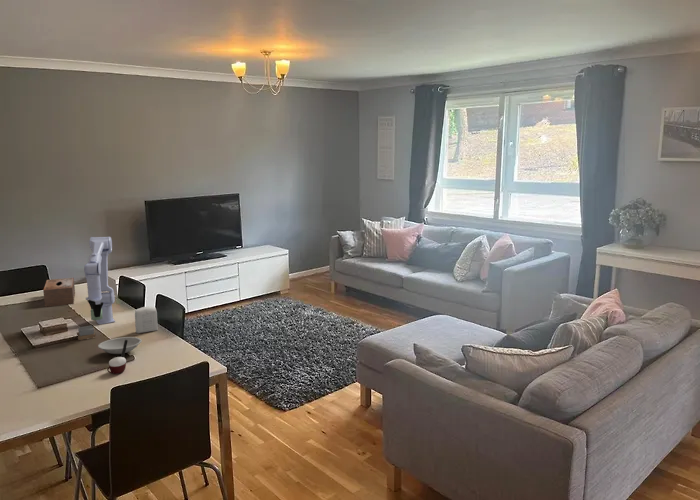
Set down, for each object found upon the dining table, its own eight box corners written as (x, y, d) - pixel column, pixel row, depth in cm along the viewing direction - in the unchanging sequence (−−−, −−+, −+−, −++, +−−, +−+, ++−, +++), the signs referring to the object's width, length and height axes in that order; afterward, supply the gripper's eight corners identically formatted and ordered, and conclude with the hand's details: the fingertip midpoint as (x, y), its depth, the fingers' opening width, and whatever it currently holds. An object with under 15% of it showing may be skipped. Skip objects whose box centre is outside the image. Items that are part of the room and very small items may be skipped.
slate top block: (78, 332, 255) (78, 327, 254) (92, 330, 258) (92, 325, 257) (80, 336, 250) (79, 331, 249) (94, 334, 253) (93, 329, 252)
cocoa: (108, 378, 210) (105, 349, 207) (105, 372, 215) (101, 344, 212) (133, 371, 216) (130, 343, 213) (129, 365, 221) (126, 338, 218)
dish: (99, 363, 224) (99, 351, 223) (97, 351, 236) (97, 340, 235) (144, 355, 232) (143, 344, 231) (140, 345, 244) (139, 334, 243)
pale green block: (90, 318, 257) (89, 309, 256) (101, 316, 260) (100, 307, 259) (92, 320, 253) (91, 311, 252) (103, 319, 256) (103, 310, 255)
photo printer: (156, 328, 268) (155, 304, 265) (158, 330, 264) (157, 306, 262) (134, 331, 262) (133, 307, 260) (136, 334, 258) (135, 309, 256)
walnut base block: (77, 337, 255) (76, 332, 255) (93, 334, 259) (92, 329, 258) (79, 341, 249) (78, 336, 249) (95, 339, 253) (95, 334, 253)
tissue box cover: (73, 304, 308) (72, 287, 306) (44, 307, 302) (43, 290, 300) (75, 293, 331) (73, 277, 329) (48, 295, 324) (46, 279, 323)
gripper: (82, 285, 257) (84, 313, 260) (87, 292, 246) (90, 320, 248) (98, 284, 261) (100, 310, 264) (104, 290, 250) (106, 318, 252)
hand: (96, 315), depth 256 cm, fingers closed on pale green block, 5 cm apart
